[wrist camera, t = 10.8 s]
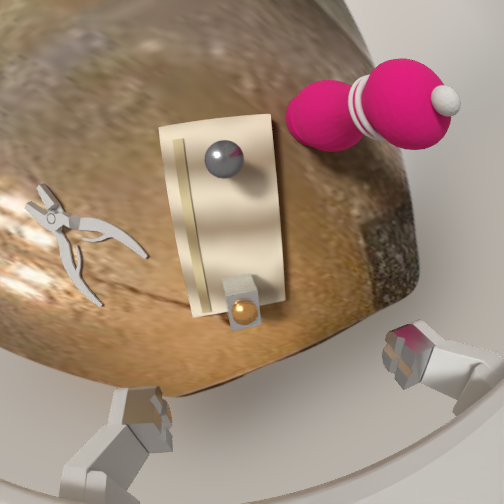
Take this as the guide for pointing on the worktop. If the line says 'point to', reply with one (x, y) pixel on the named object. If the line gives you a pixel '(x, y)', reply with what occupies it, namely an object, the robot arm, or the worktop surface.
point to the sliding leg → (241, 301)
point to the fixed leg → (224, 159)
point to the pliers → (60, 217)
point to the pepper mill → (375, 109)
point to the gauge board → (224, 210)
